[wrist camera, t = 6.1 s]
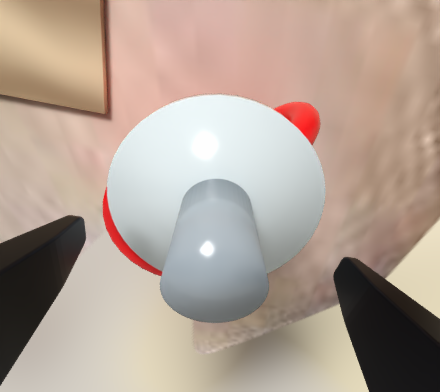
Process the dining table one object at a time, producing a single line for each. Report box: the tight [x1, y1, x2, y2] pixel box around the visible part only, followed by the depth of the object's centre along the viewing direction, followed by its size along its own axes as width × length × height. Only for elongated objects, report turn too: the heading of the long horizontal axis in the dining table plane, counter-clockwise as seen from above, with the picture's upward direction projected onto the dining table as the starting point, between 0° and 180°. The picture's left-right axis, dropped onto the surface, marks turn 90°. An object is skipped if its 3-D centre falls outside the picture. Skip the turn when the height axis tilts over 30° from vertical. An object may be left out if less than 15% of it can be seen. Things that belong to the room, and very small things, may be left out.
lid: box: [107, 93, 325, 323], centre depth 9 cm, size 9×9×5 cm
